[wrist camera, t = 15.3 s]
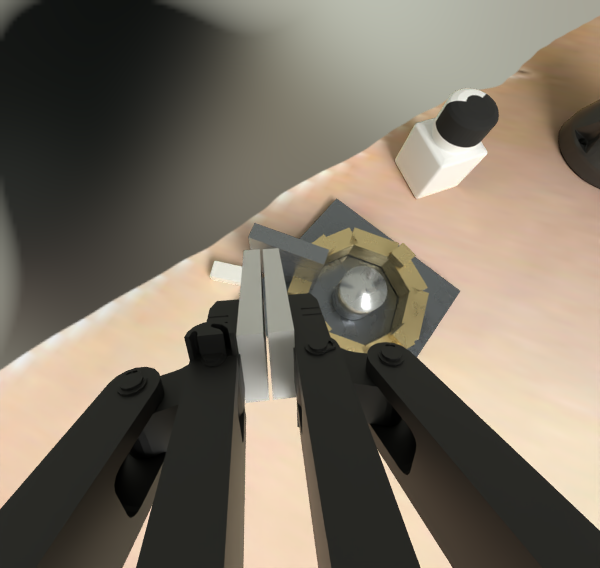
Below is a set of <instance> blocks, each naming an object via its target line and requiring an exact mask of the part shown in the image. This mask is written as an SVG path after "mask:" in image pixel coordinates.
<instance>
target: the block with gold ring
mask: <svg viewBox="0 0 600 568" xmlns="http://www.w3.org/2000/svg"><path fill="white" fill-rule="evenodd" d="M248 239H249V244H250V250H257V249H260V257H261V270H262V273H264V262H263V249H274V248H279V253H280V258H281V263H282V269H283V274H284V279H285V281H286V282H288V283H291V284H290V286H289V289H288V291H287V295H292V294H304V293H308V292H309V290H311V291H312V290H313V288H314V286H315V283H316V281H317V279H318V277H319V275H320V272H321V270H322V268H323V266H324V265H325V264H327V263H329V262H332V261H334V260H336V259H339V258H341V257H343V256H346V255H351V256H353V257H356V258H359V259H362V260H365V261H367V262H370V263H373V264H376V265H378V266H381V267H382V269H383V270H384V272H385V274H386V276H387V277H388V279H389V281H390V283H391V284H392V286H393V288H394V289H395V291H396V293H397V295H398V296H399V300H398V304H397V308H396V312H395V316H394V320H393V324H392V328H391V332H389V333H387V334H385V335H383V336H381V337H379V338H377V339H375V340H373V341H371V342H369V343H367V344H365V345H363V344H360V343H358V342H355V341H352V340H349V339H347V338H344V337H341V336H338V335H336V334H333V333H330V332H329V334H330V336H331V338H333V339H334V340H336V341H337V343H338V344H339V346H340V347H341V348H343V349H345V350H348V351H353V352H359V353H367V351H368V350H369V348H370V347H371V346H372V345H374V344H376V343H381V342H390V343H396V344H398V345H401V346H403V347H405V348H406V349H407V348H409V347H411V346H413V345H415V343H414V341H415V340H419V336H420V331H421V327H422V322H423V318H424V313H425V309H426V304H427V300H428V295H429V293H427V292H424V291H423V290H425V289H427V288H428V287H427V285H426V284H425V282H424V280H423V279H422V277H421V275H420V274H419V272H418V270H417V269H416V267H415V265H414V264H413V262H412V260H411V259H412V258H413V257H414V256H416V255H415V254H414V253H413V252H412V251H411V250H410V249H409V248H408V247H407V246H406V245H405V244H404V243H402V244H401V245H400V246H399V247H398V245H399V243H397V242H394V241H391V240H388V239H386V238H383V237H380V236H377V235H374V234H372V233H369V232H366V231H363V230H360V229H358V228H354V230H353V231H351V229H350V228H347V229H344V230H342V231H339V232H337V233H335V234H332V235H330V236H327V237H326V236H325V235H324V234H323V235H322V236H321V237H319V238H318V239H317V240H315V241H314V242H312V243H309V242H306V241H303V240H301V239H298V238H295V237H292V236H290V235H287V234H284V233H281V232H278V231H276V230H273V229H270V228H267V227H264V226H262V225H259V224H256V223H254V226H253V228H252V230H251V232H250V235H249V237H248ZM325 322H326V321H325ZM326 325H327V328H328V331H330V330H332V328H331V327H330V326H329V325H328V324H327V322H326Z"/></svg>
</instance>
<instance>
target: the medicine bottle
mask: <svg viewBox="0 0 600 568" xmlns="http://www.w3.org/2000/svg"><path fill="white" fill-rule="evenodd" d="M498 117H499V114H498V107H497V105H496V103H495V102H494V100H493V99H492V98H491V97H490V96H489V95H487V94H486V93H484V92H482V91H480V90H477V89H472V88H464V89H460V90H457V91H455V92H454V93H452V94H451V95H450V96H449V98H448V99H447V101H446V103H445V104H444V106H443V107H442V109H441V111H440V112H439V114H438V115H437V117H436V118H433V119H429V120H425V121H422V122H418V123H416V124H415V125H414V127H413V128H412V130H411V132H410V134H409V136H408V137H407V139H406V141H405V143H404V144H403V146H402V148H401V150H400V152H399V153H398V155H397V157H396V159H395V163H396V164H397V166H398V168H399V170H400V171H401V173H402V175H403V177H404V179H405V180H406V182H407V184H408V186H409V187H410V189H411V191H412V193H413V195H414V196H415V198H416V199H419V198H422V197H425V196H428V195H431V194H434V193H437V192H440V191H443V190H446V189H449V188H452V187H455V186H457V185H458V184H459V183H460V182H461V181H462V180H463V179H464V178H465V177H466V176H467V175H468V174H469V172H470V171H471V170H472V169H473V168H474V167H475V166H476V165H477V164H478V163H479V162H480V161H481V160H482V159H483V158H484V157H485V156H486V155H487V150H486V149H485V147H484V146H483V144H482V143H481V141H482V139H483V138H484V137H485V136H486V135H487V134H488V133H489V131H490V130H491V129H492V128H493V127H494V126H495V125H496V123H497V121H498Z"/></svg>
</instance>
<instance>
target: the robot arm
mask: <svg viewBox="0 0 600 568" xmlns="http://www.w3.org/2000/svg"><path fill="white" fill-rule="evenodd" d="M559 145H560V149H561V152H562V155H563V157H564V158H565V160H566V162H567V163H568V165H569V166H570V167H571V168H572V169H573V170H574V172H576V173H577V174H578V175H579V176H580V177H581V178H582V179H584V180H585V181H587V182H588V183H590V184H592V185H594V186H596V187H598V188H600V100H598V101H596V102H594V103H592V104H590V105H588V106H586V107H585V108H583V109H581V110H580V111H578V112H577V113H576V114H575V115H574V116H572V117H571V118H570V119H569V120H568V121H567V122H566V123H565V124H564V125H563V126H562V128H561V130H560V133H559ZM263 262H264V278H265V294H266V310H267V326H268V340H269V353H270V365H271V378H272V391H273V400H275V399H283V398H292V397H296V396H297V421H298V427H299V428H300V435H301V443H302V450H303V457H304V465H305V472H306V480H307V487H308V494H309V502H310V509H311V517H312V524H313V532H314V539H315V546H316V554H317V561H318V568H420V565H419V562H418V560H417V557H416V554H415V551H414V549H413V546H412V543H411V540H410V538H409V535H408V532H407V530H406V527H405V524H404V521H403V519H402V516H401V513H400V510H399V508H398V505H397V502H396V499H395V497H394V494H393V491H392V488H391V486H390V483H389V480H388V477H387V475H386V472H385V469H384V466H383V464H382V461H381V458H380V456H379V453H378V451H379V452H380V454H381V456H382V457H383V459H384V460H385V462H386V463H387V465H388V467H389V468H390V470H391V471H392V473H393V474H394V476H395V478H396V479H397V481H398V482H399V484H400V486H401V487H402V489H403V490H404V492H405V493H406V495H407V497H408V498H409V500H410V501H411V503H412V504H413V506H414V508H415V509H416V511H417V512H418V514H419V515H420V517H421V519H422V520H423V522H424V523H425V525H426V526H427V528H428V530H429V531H430V533H431V534H432V536H433V537H434V539H435V541H436V542H437V544H438V545H439V547H440V548H441V550H442V552H443V553H444V555H445V556H446V558H447V559H448V561H449V563H450V564H451V566H452V567H453V568H600V531H599V530H598V529H597V528H596V527H595V526H594V525H593V524H592V523H591V522H590V521H589V520H588V519H587V518H586V517H585V516H584V515H583V514H581V513H580V512H579V511H578V510H577V509H576V508H575V507H574V506H573V505H572V504H571V503H570V502H569V501H568V500H567V499H566V498H565V497H564V496H562V495H561V494H560V493H559V492H558V491H557V490H556V489H555V488H554V487H553V486H552V485H551V484H550V483H549V482H548V481H547V480H546V479H545V478H543V477H542V476H541V475H540V474H539V473H538V472H537V471H536V470H535V469H534V468H533V467H532V466H531V465H530V464H529V463H528V462H527V461H525V460H524V459H523V458H522V457H521V456H520V455H519V454H518V453H517V452H516V451H515V450H514V449H513V448H512V447H511V446H510V445H509V444H508V443H506V442H505V441H504V440H503V439H502V438H501V437H500V436H499V435H498V434H497V433H496V432H495V431H494V430H493V429H492V428H491V427H490V426H489V425H487V424H486V423H485V422H484V421H483V420H482V419H481V418H480V417H479V416H478V415H477V414H476V413H475V412H474V411H473V410H472V409H471V408H469V407H468V406H467V405H466V404H465V403H464V402H463V401H462V400H461V399H460V398H459V397H458V396H457V395H456V394H455V393H454V392H453V391H452V390H450V389H449V388H448V387H447V386H446V385H445V384H444V383H443V382H442V381H441V380H440V379H439V378H438V377H437V376H436V375H435V374H434V373H433V372H431V371H430V370H429V369H428V368H427V367H426V366H425V365H424V364H423V363H422V362H421V361H420V360H419V359H418V358H417V357H416V356H415V355H413V354H412V353H411V352H410V351H409V350H408V349H406V348H405V347H403V346H401V345H398V344H396V343H390V342H381V343H376V344H374V345H372V346H371V347H370V348H369V350H368V351H367V353H359V352H353V351H348V350H345V349H343V348H341V347H340V346H339V344H338V343H337V341H336V340H334V339H333V338H331V336H330V334H329V331H328V328H327V325H326V322H325V320H324V317H323V314H322V311H321V308H320V306H319V303H318V300H317V299H316V298H315V297H314V296H313V295H312V294H310V293H304V294H292V295H287V290H286V284H285V279H284V274H283V269H282V263H281V258H280V253H279V248H274V249H263ZM184 338H185V342H186V346H187V351H188V355H189V359H190V362H189V365H187V366H185V367H183V368H182V369H179V370H177V371H174V372H171V373H168V374H165V375H162V376H160V374H159V373H158V372H157V371H156V370H155V369H153V368H149V367H140V368H134V369H131V370H128V371H126V372H124V373H122V374H120V375H118V376H117V377H116V378H114V379H113V380H112V381H111V382H110V383H109V384H108V385H107V386H106V387H105V388H104V390H103V391H102V392H101V393H100V394H99V395H98V397H97V398H96V399H95V400H94V401H93V402H92V404H91V405H90V406H89V407H88V408H87V409H86V410H85V412H84V413H83V414H82V415H81V416H80V417H79V419H78V420H77V421H76V422H75V423H74V424H73V426H72V427H71V428H70V429H69V430H68V431H67V433H66V434H65V435H64V436H63V437H62V438H61V439H60V441H59V442H58V443H57V444H56V445H55V446H54V448H53V449H52V450H51V451H50V452H49V453H48V455H47V456H46V457H45V458H44V459H43V460H42V461H41V463H40V464H39V465H38V466H37V467H36V468H35V470H34V471H33V472H32V473H31V474H30V475H29V477H28V478H27V479H26V480H25V481H24V482H23V483H22V485H21V486H20V487H19V488H18V489H17V490H16V492H15V493H14V494H13V495H12V496H11V497H10V499H9V500H8V501H7V502H6V503H5V504H4V505H3V507H2V508H1V509H0V568H122V567H123V565H124V563H125V561H126V559H127V557H128V555H129V553H130V551H131V549H132V546H133V544H134V542H135V540H136V538H137V536H138V534H139V532H140V530H141V527H142V525H143V523H144V521H145V519H146V517H147V515H148V513H149V511H150V509H151V506H152V509H151V512H150V516H149V520H148V524H147V528H146V532H145V536H144V539H143V543H142V547H141V551H140V555H139V559H138V563H137V566H136V568H243V558H244V503H245V448H246V414H245V407H244V404H245V402H246V403H249V402H257V401H266V400H269V389H268V370H267V350H266V331H265V311H264V294H263V282H262V270H261V257H260V249H257V250H244V253H243V264H242V275H241V287H240V298H239V300H226V301H217V302H216V303H215V304H214V305H213V306H212V307H211V308H210V310H209V314H208V319H207V322H205V323H202V324H199V325H197V326H195V327H193V328H192V329H191V330H189V331H188V332H187V334H186V335H185V337H184ZM377 449H378V450H377ZM152 504H153V505H152Z"/></svg>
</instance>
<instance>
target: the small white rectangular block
mask: <svg viewBox="0 0 600 568" xmlns="http://www.w3.org/2000/svg"><path fill="white" fill-rule="evenodd" d="M241 275H242V266H237V265H232V264H228V263H223V262H219V261H214V264H213V267H212V270H211V274H210V277H211V279H212V280H215V281H220V282H224V283H229V284H234V285H238V286H241Z"/></svg>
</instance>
